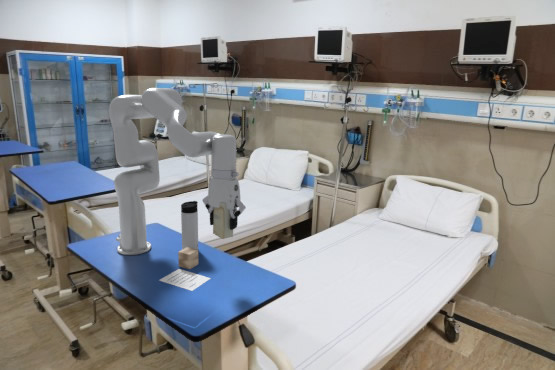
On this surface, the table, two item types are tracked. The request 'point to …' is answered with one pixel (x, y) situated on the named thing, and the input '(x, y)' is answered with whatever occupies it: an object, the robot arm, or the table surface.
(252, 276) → the table surface
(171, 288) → the table surface
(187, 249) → the block
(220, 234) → the skincare box
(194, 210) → the travel mug
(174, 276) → the letter
